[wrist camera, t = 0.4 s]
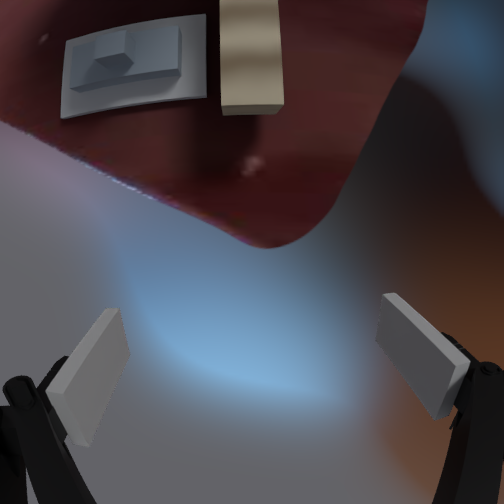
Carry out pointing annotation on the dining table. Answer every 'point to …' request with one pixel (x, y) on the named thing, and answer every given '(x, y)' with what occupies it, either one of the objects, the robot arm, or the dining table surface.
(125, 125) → the dining table surface
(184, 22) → the fulcrum stand
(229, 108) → the pine batten
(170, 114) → the dining table surface
